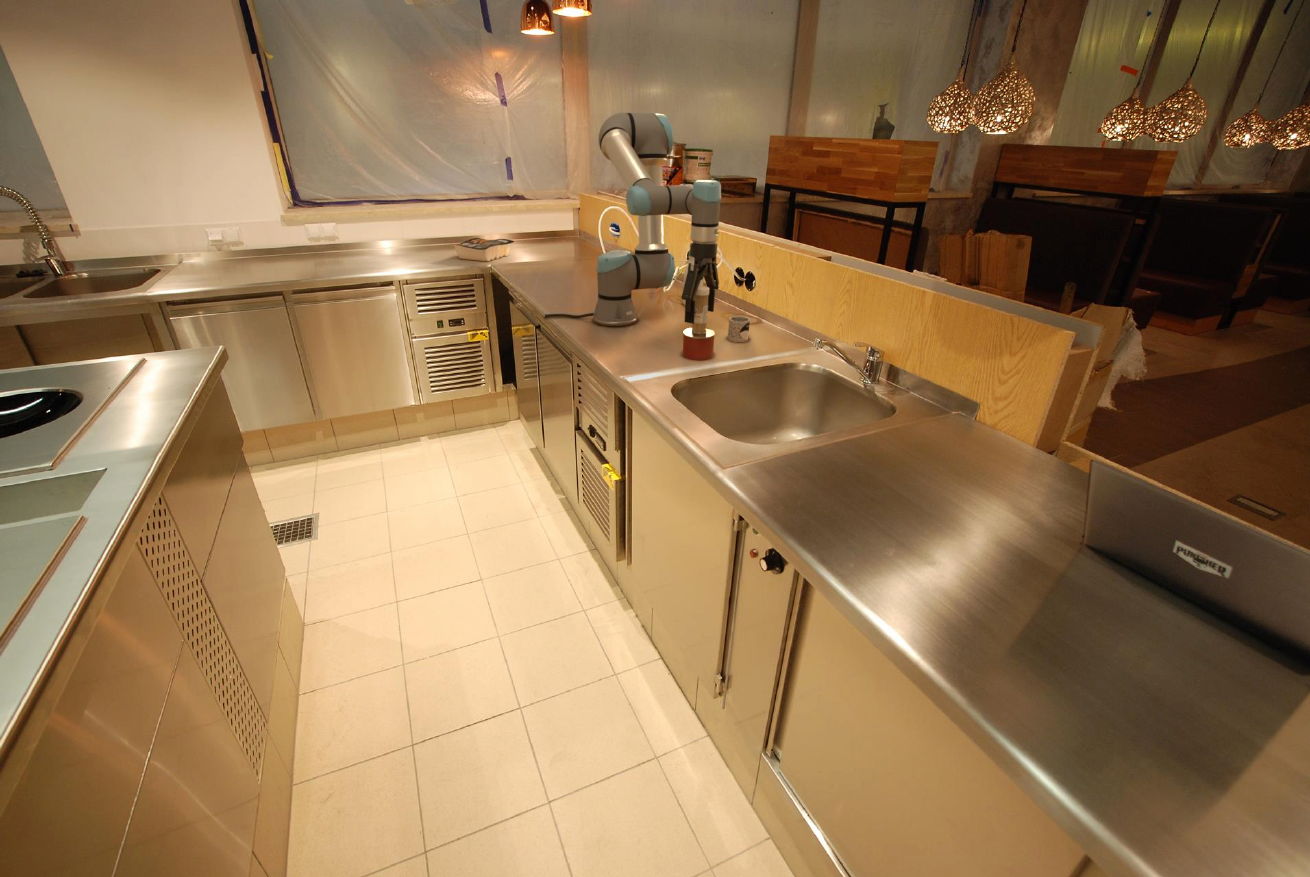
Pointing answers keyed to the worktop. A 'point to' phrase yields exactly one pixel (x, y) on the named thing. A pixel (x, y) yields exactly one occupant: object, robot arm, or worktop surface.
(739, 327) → the mug
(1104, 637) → the worktop surface
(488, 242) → the food packaging
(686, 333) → the tin
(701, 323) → the sprinkles bottle
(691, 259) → the milk bottle
